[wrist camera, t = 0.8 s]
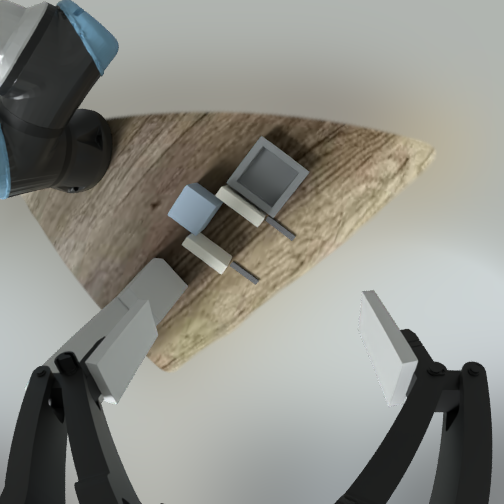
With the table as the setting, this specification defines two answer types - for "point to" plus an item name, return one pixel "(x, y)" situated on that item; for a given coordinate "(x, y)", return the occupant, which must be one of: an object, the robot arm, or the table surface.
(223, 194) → the channel
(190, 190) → the block
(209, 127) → the table surface
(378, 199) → the table surface
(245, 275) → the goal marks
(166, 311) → the electronic device
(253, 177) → the tray
